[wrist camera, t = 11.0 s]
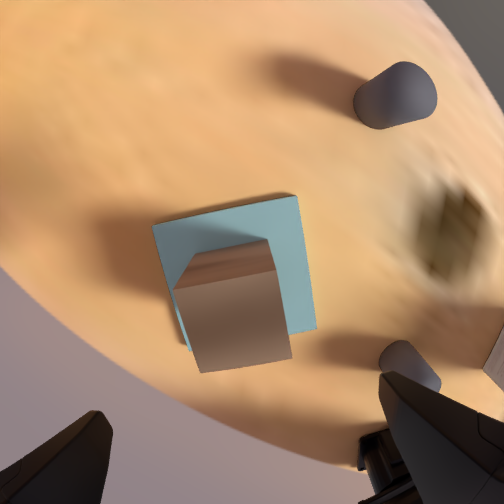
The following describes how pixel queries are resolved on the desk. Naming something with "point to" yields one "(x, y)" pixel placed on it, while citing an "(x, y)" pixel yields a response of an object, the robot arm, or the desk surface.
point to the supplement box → (496, 362)
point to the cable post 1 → (396, 97)
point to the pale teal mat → (240, 232)
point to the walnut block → (233, 308)
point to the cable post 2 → (409, 364)
